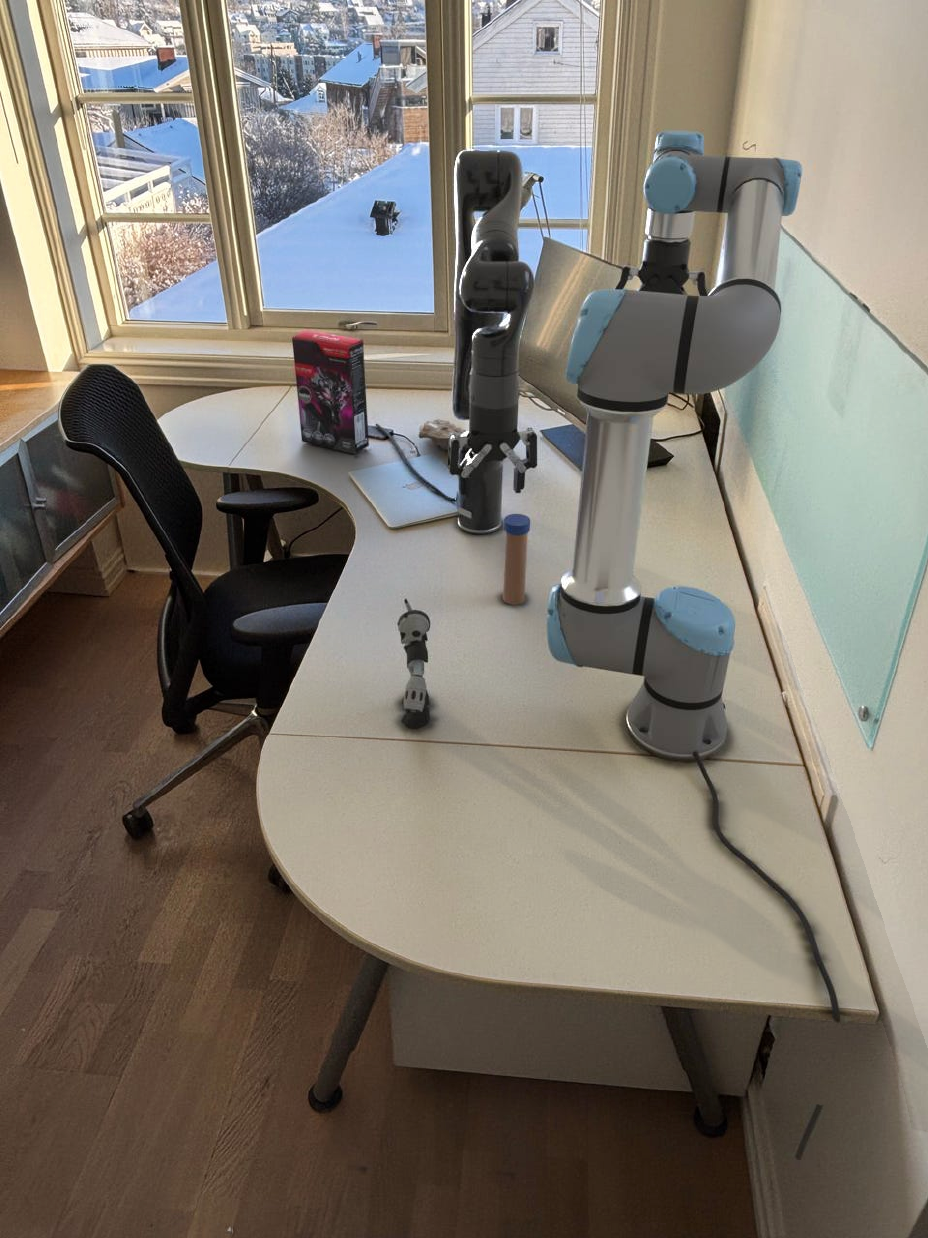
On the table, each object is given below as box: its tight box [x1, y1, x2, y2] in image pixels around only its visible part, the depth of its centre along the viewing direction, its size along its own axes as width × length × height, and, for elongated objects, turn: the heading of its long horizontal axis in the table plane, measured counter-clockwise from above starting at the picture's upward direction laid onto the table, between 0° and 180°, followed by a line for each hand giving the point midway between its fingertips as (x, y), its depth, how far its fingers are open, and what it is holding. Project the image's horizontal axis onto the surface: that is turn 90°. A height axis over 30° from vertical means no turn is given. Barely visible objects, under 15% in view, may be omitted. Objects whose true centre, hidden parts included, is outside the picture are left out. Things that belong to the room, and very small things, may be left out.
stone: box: [418, 418, 467, 451], centre depth 230 cm, size 21×15×6 cm
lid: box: [503, 513, 531, 535], centre depth 165 cm, size 5×5×2 cm
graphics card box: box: [291, 329, 370, 455], centre depth 226 cm, size 17×7×27 cm, turn 62°
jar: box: [502, 531, 529, 606], centre depth 170 cm, size 4×4×16 cm
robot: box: [396, 598, 431, 729], centre depth 141 cm, size 20×5×20 cm, turn 3°
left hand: (491, 493), depth 150 cm, fingers open, 8 cm apart
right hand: (652, 364), depth 163 cm, fingers open, 13 cm apart
